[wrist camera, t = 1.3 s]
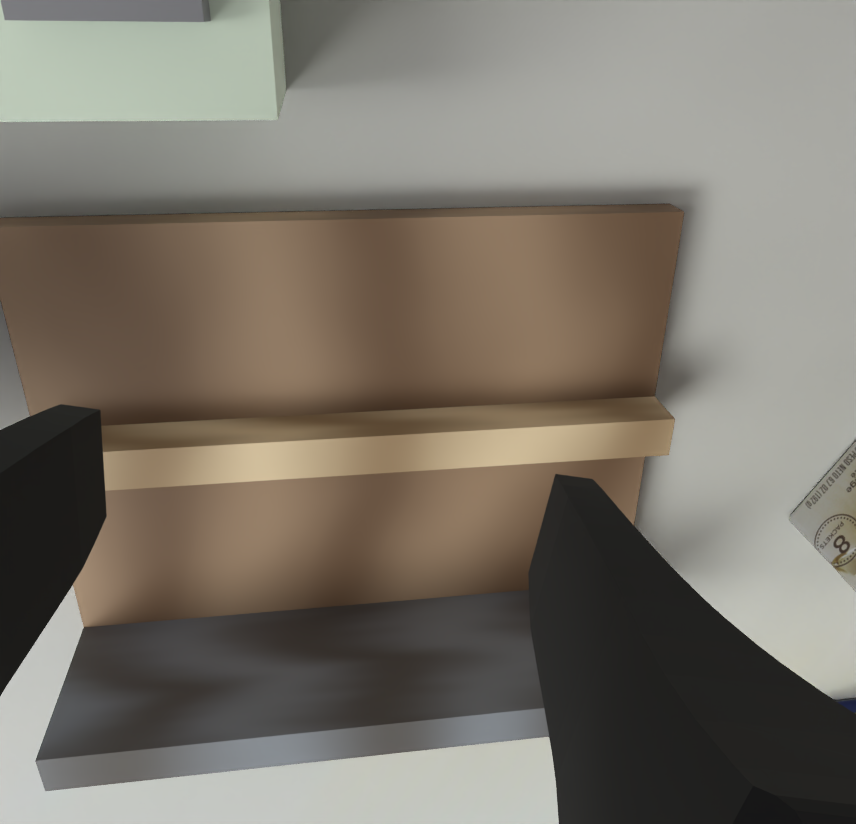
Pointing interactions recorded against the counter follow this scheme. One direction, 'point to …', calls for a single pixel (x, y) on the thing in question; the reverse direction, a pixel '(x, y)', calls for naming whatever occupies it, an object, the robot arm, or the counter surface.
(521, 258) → the cleat board
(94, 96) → the cabinet block
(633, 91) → the counter surface
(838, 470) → the coffee box
